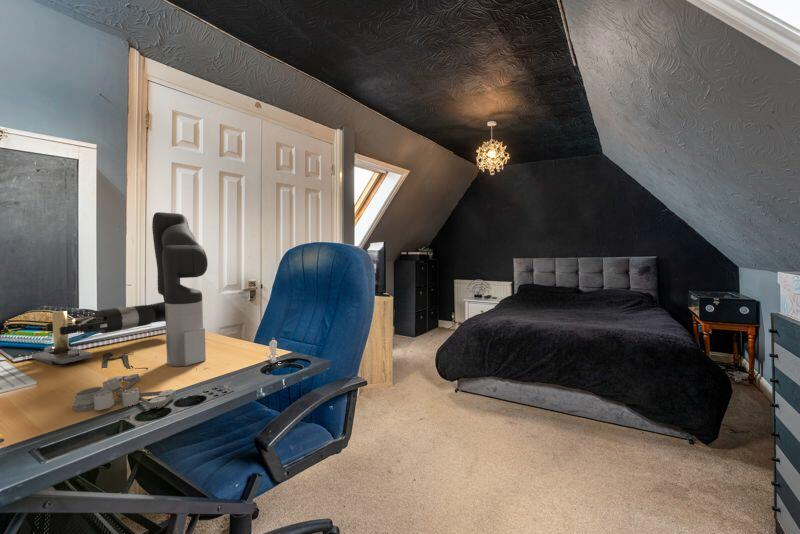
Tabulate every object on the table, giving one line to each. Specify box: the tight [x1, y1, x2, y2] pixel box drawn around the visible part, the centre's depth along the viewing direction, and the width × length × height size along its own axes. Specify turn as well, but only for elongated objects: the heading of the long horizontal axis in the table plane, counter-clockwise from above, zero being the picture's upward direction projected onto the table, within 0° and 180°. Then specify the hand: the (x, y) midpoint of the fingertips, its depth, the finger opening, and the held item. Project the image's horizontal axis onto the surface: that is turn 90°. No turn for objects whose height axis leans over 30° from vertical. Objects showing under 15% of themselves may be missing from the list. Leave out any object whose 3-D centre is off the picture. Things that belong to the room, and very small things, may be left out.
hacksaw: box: [101, 351, 149, 374], centre depth 106 cm, size 24×10×2 cm, turn 37°
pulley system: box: [71, 373, 177, 413], centre depth 81 cm, size 27×5×15 cm
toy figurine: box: [265, 337, 281, 366], centre depth 107 cm, size 5×8×7 cm, turn 42°
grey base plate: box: [31, 345, 93, 366], centre depth 108 cm, size 19×7×4 cm, turn 62°
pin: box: [51, 310, 70, 355], centre depth 108 cm, size 3×3×14 cm
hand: (53, 329), depth 106 cm, fingers open, 8 cm apart
